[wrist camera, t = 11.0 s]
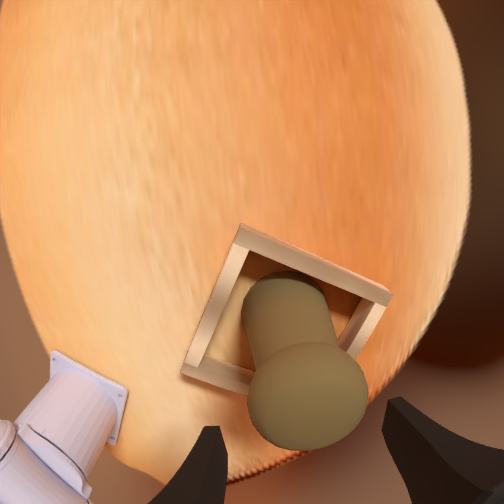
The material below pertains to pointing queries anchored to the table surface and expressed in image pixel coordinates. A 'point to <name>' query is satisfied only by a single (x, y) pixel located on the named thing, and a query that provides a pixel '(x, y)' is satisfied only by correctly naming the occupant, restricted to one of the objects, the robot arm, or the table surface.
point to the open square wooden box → (294, 257)
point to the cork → (299, 366)
